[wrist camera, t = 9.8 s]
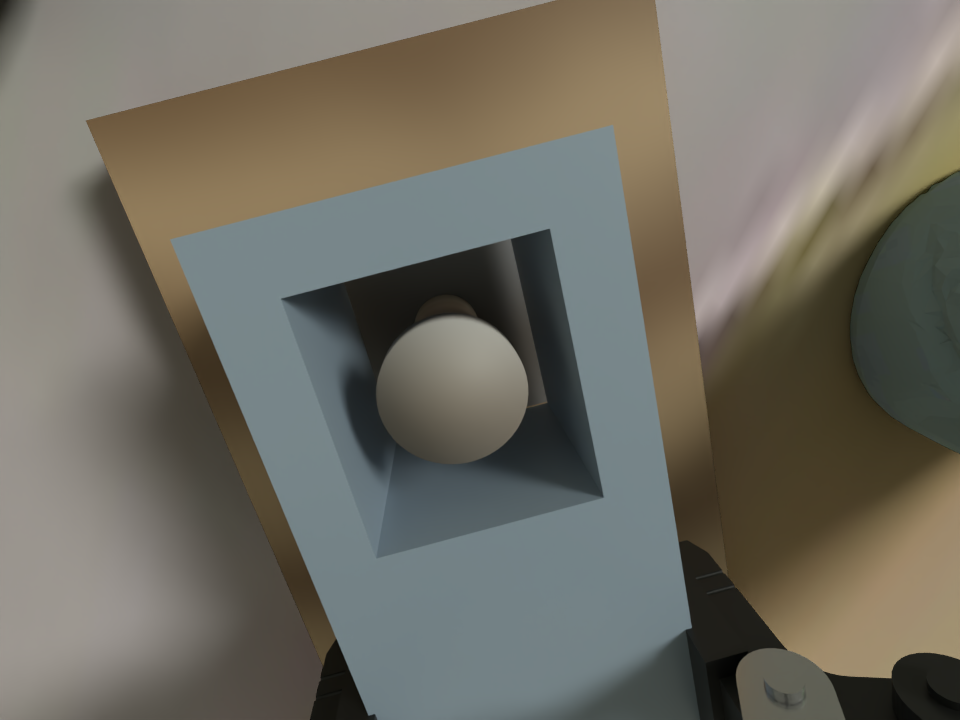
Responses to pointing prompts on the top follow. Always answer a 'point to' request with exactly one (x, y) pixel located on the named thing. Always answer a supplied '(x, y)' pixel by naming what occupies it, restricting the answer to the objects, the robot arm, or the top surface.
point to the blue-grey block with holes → (481, 483)
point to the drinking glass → (914, 317)
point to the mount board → (445, 280)
